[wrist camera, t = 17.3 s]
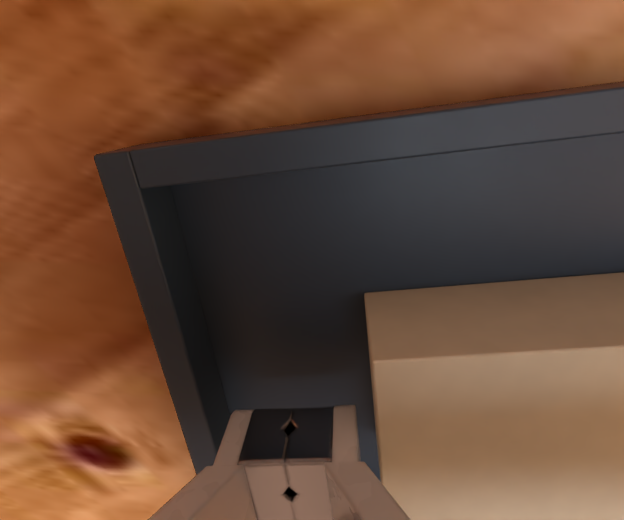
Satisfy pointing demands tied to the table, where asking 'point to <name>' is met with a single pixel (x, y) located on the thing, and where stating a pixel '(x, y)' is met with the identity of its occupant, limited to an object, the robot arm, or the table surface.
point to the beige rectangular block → (501, 398)
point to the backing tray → (351, 237)
